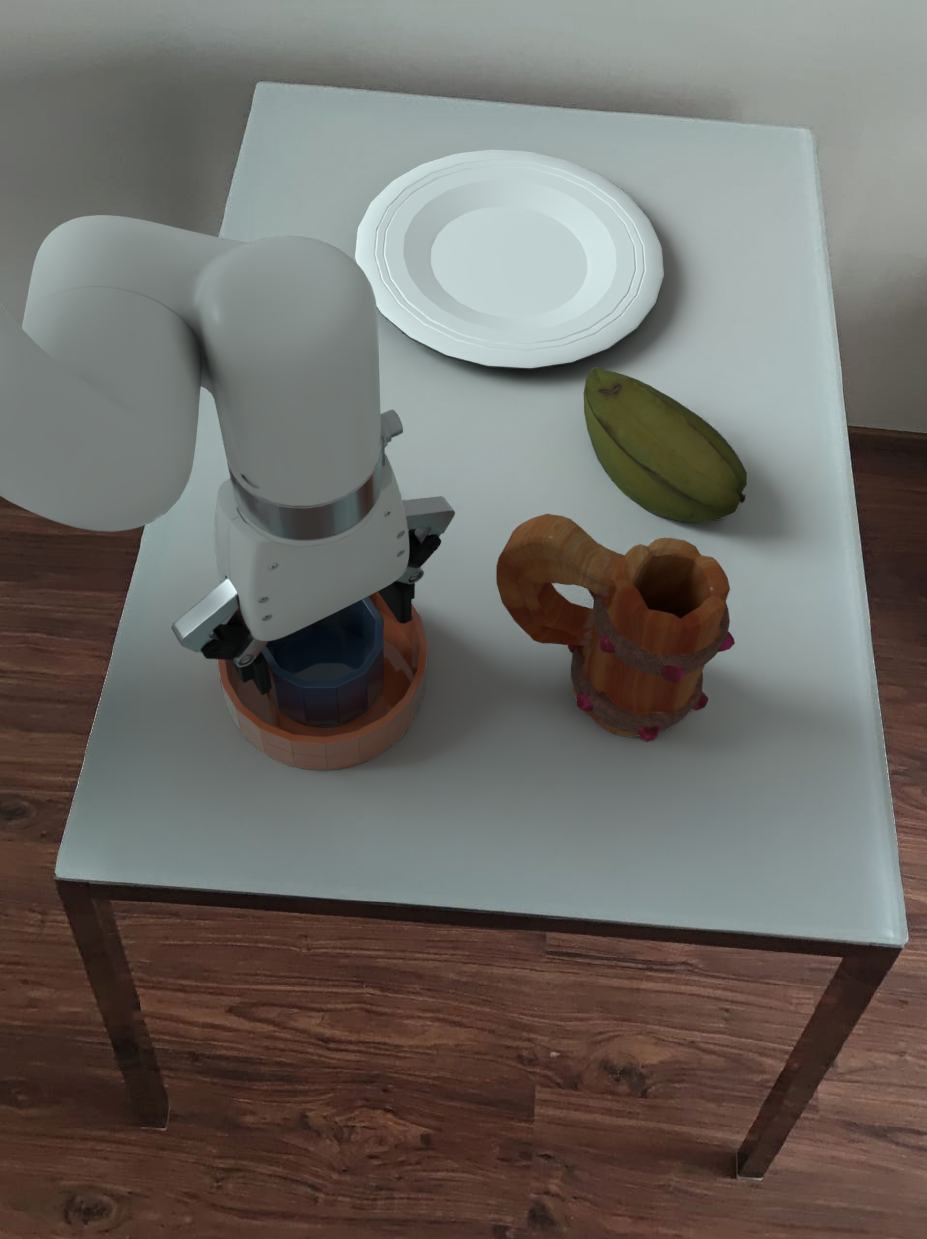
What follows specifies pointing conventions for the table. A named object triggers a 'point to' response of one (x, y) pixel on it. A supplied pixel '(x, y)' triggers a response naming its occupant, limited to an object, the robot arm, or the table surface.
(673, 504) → the fruit
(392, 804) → the table surface
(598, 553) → the mug
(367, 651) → the small bowl
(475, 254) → the plate
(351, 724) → the big bowl
